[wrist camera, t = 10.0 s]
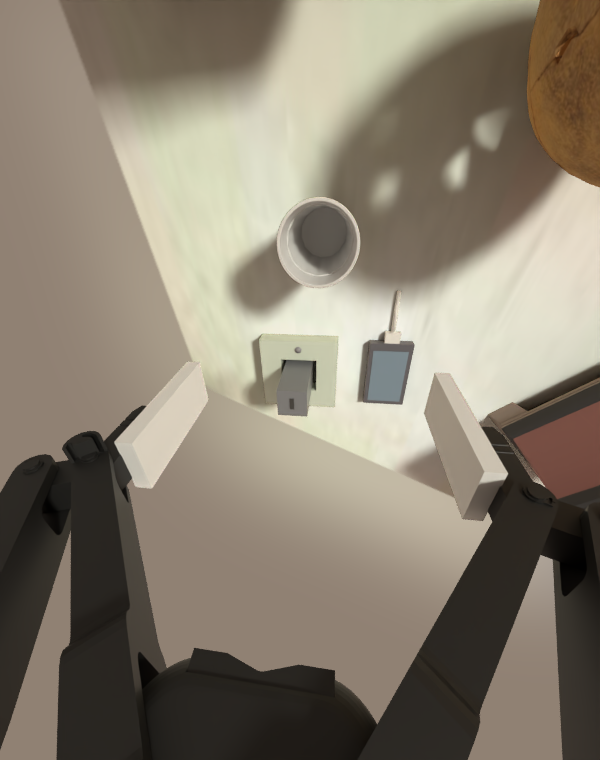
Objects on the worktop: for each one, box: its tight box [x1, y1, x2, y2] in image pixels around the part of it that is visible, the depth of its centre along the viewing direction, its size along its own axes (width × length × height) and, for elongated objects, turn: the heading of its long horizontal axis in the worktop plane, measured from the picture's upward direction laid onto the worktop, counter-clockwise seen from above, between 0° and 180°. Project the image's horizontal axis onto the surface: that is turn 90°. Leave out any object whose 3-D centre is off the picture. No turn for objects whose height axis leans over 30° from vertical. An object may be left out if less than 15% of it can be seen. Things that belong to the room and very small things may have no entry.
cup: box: [277, 197, 360, 288], centre depth 33 cm, size 8×8×12 cm
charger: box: [276, 360, 313, 416], centre depth 45 cm, size 4×4×10 cm
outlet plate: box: [259, 334, 338, 407], centre depth 49 cm, size 12×12×3 cm
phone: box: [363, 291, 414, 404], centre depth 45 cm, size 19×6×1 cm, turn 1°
